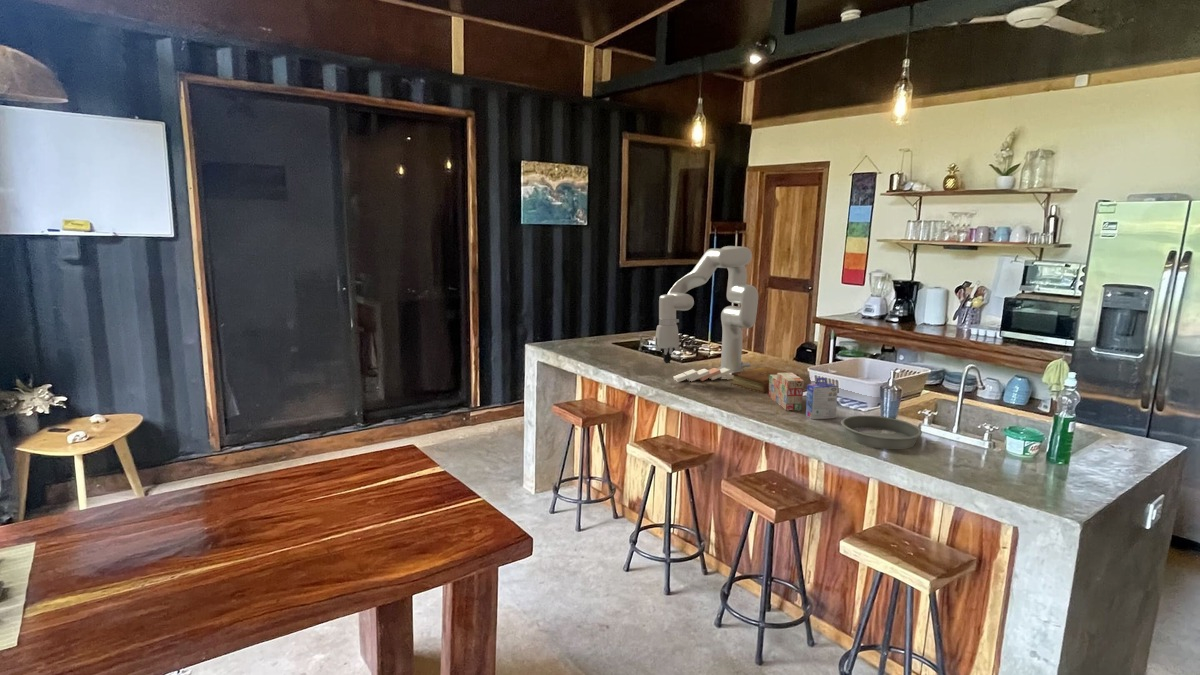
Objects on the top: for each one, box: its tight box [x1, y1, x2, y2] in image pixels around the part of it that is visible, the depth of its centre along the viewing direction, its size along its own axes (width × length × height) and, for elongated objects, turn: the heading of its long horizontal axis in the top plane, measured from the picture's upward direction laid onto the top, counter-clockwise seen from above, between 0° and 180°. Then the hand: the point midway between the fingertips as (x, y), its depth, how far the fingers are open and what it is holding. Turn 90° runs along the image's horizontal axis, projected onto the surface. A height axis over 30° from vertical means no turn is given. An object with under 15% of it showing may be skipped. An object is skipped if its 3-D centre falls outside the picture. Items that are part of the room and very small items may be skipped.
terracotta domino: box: [698, 367, 721, 382], centre depth 287 cm, size 2×5×10 cm
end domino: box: [718, 373, 734, 380], centre depth 290 cm, size 2×5×10 cm
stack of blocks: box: [768, 372, 805, 411], centre depth 249 cm, size 21×6×12 cm, turn 3°
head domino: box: [672, 369, 698, 383], centre depth 284 cm, size 2×5×10 cm
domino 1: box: [686, 368, 710, 382], centre depth 285 cm, size 2×5×10 cm
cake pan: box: [840, 415, 923, 450], centre depth 210 cm, size 25×25×4 cm
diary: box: [730, 366, 800, 394], centre depth 278 cm, size 23×19×6 cm
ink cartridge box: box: [805, 377, 839, 420], centre depth 231 cm, size 10×6×14 cm, turn 99°
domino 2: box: [709, 368, 731, 381], centre depth 289 cm, size 2×5×10 cm
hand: (667, 362), depth 283 cm, fingers closed
